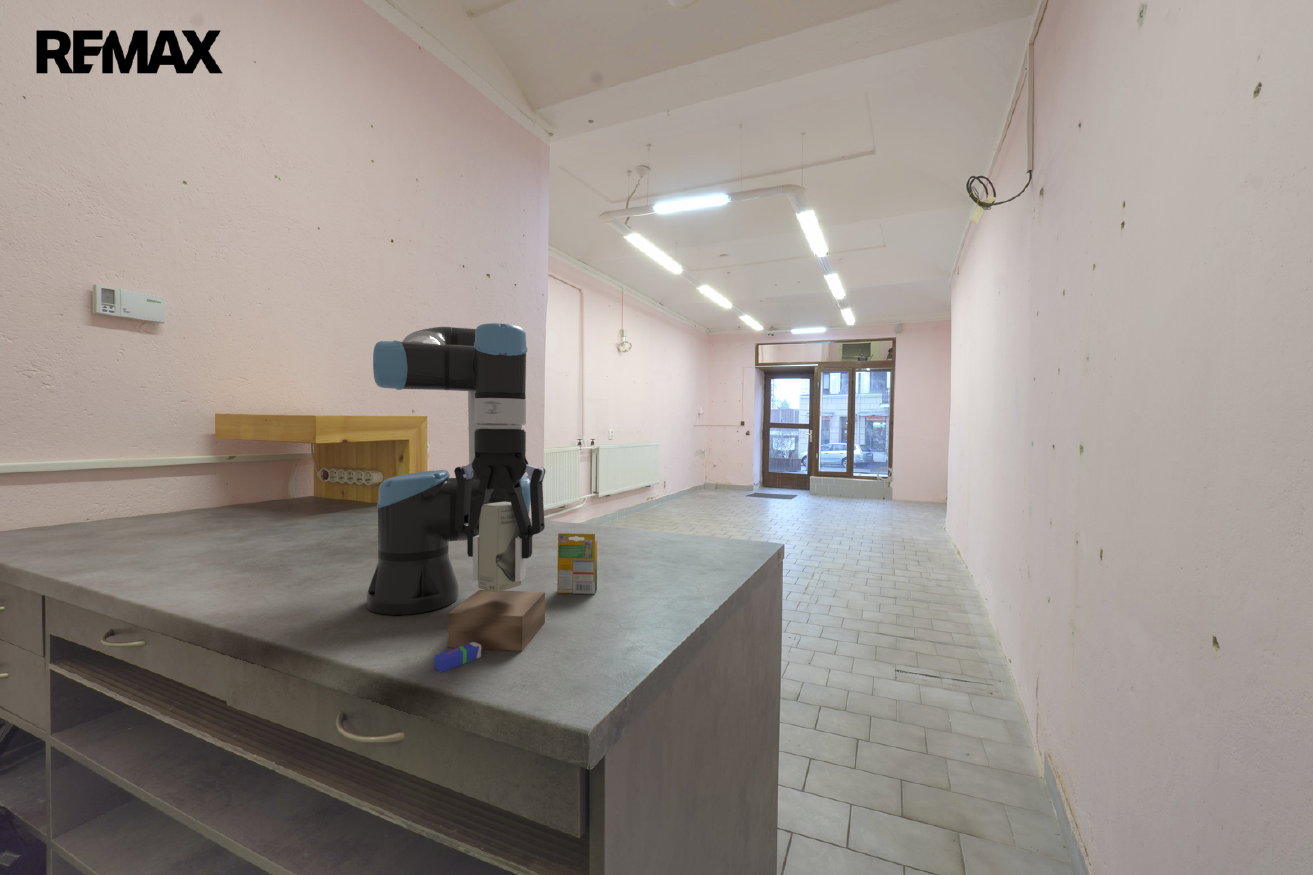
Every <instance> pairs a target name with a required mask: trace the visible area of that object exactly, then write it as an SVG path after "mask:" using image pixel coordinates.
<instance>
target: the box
mask: <svg viewBox="0 0 1313 875" xmlns="http://www.w3.org/2000/svg"><path fill="white" fill-rule="evenodd" d="M519 536H520V532H519V528H518V525H517V521H516V518H515V515H514V511H513V508H512V504H511V502H497V503H489V504H484V505H482V508H481V512H480V516H479V554H478V580H477V589H480V590H488V591H493V592H500V591H508V590H509V589H514V588H517V587H519V586H521V585H522V581H520V582H515V539H516V538H517V537H519Z"/></svg>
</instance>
